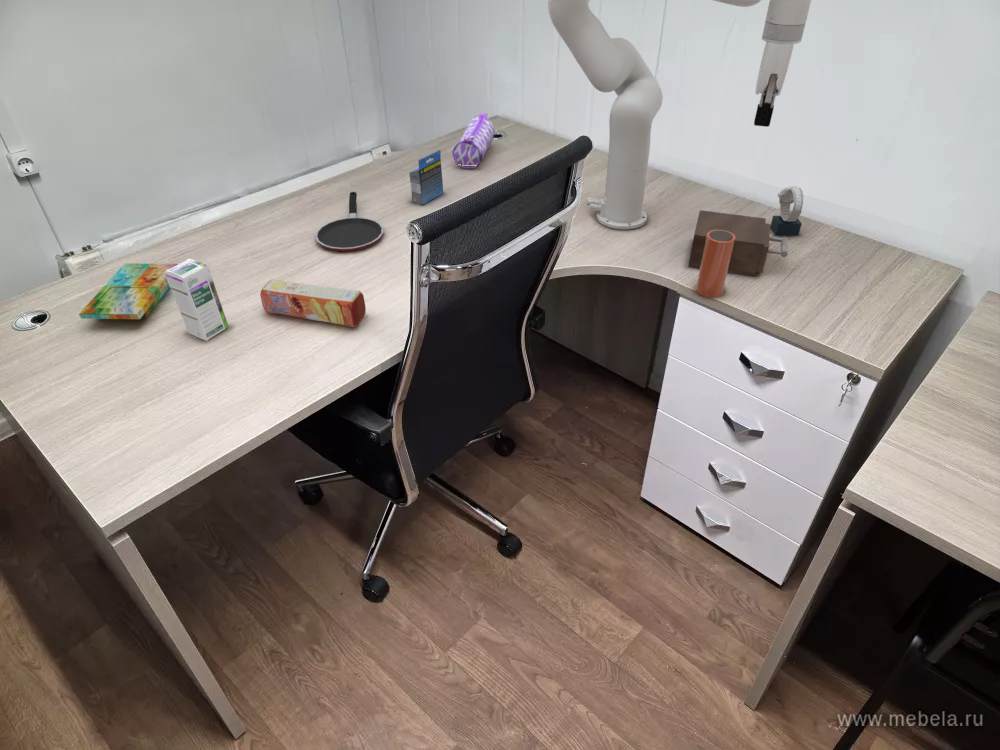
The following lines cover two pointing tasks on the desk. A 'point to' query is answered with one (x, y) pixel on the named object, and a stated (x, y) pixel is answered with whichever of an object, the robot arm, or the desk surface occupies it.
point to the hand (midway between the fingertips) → (761, 124)
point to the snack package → (314, 302)
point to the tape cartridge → (427, 179)
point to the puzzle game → (129, 293)
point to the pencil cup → (715, 263)
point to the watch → (788, 212)
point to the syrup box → (197, 299)
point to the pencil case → (474, 142)
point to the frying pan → (349, 231)
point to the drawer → (766, 250)
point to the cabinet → (745, 245)
